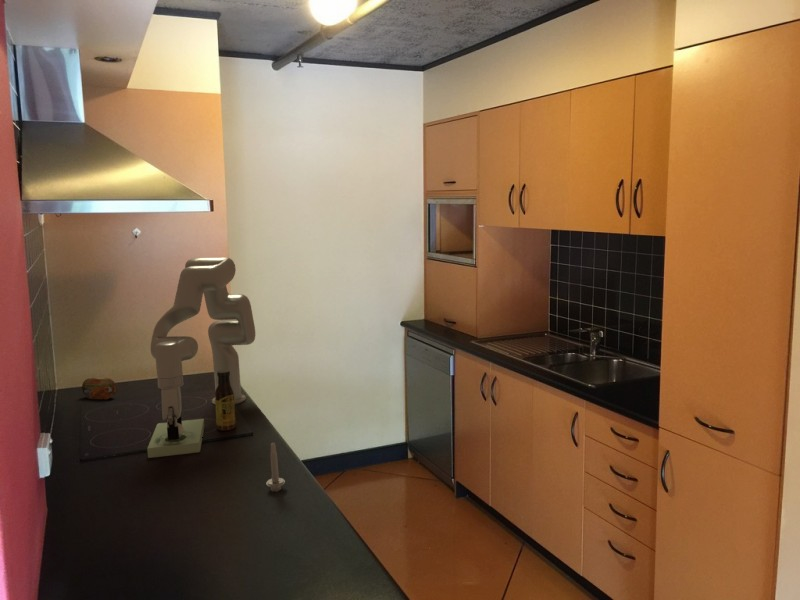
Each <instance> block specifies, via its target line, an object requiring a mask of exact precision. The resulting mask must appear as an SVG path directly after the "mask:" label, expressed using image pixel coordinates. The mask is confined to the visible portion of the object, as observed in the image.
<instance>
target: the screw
mask: <svg viewBox="0 0 800 600" xmlns="http://www.w3.org/2000/svg"><path fill="white" fill-rule="evenodd" d="M269 453H270V454H269V455H270V457H269V458H270V470H271V478H270V479H268V480H267V481H266V483H265V484H266V486H267V487H269V488H270V490H271V492H276V493H277V492H279V491H281V490H282V486H283V485H285V484H286V480H285V479H284V478H282V477H280V476H279V475H280V474H279V463H278V452H277V448H276V443H275V442H271V443H270V452H269Z"/></svg>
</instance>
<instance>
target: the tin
mask: <svg viewBox="0 0 800 600" xmlns="http://www.w3.org/2000/svg"><path fill="white" fill-rule="evenodd" d="M81 390H82V393H83V395H84V396H85V397H86V398H88V399H90V400H103V399H104V400H109V399H112V398H113V397H114V396H115V395H116V393H117V386H116V383H115V381H114V380H113V379H112V378H106V377H105V378H103V377H90V378H86V379H85V380H84V381H83V382H82V385H81Z"/></svg>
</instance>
